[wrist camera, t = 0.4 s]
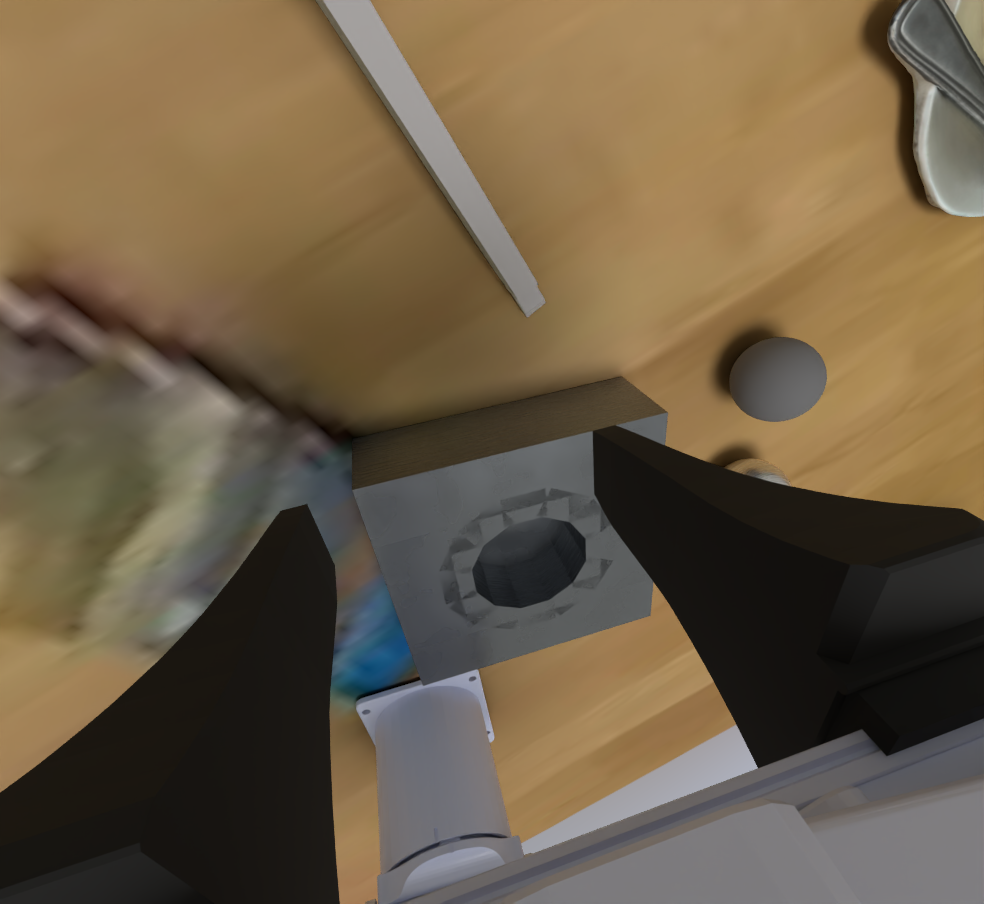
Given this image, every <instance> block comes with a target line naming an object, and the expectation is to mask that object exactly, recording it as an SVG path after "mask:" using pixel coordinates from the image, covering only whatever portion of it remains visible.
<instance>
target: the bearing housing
mask: <svg viewBox="0 0 984 904" xmlns="http://www.w3.org/2000/svg"><path fill="white" fill-rule="evenodd" d="M667 416H668V412H667V411H665V410H664V409H663V408H661V407H660V406H659V405H658V404H656V403H655V402H654V401H653V400H651V399H650V398H649V397H647V396H646V395H645V394H644V393H642V392H641V391H640V390H639V389H637V388H636V387H635V386H633V385H632V384H631V383H630V382H628V381H627V380H626V379H625V378H623V377H618V378H614V379H610V380H605V381H601V382H597V383H592V384H588V385H584V386H579V387H575V388H571V389H566V390H562V391H558V392H553V393H549V394H545V395H540V396H536V397H532V398H528V399H523V400H519V401H515V402H510V403H506V404H502V405H497V406H493V407H489V408H484V409H480V410H476V411H471V412H467V413H463V414H458V415H454V416H450V417H445V418H441V419H437V420H432V421H428V422H424V423H419V424H415V425H411V426H406V427H402V428H398V429H393V430H389V431H385V432H380V433H376V434H372V435H367V436H363V437H359V438H354V439H352V491H353V494H354V497H355V499H356V502H357V505H358V508H359V510H360V513H361V516H362V519H363V522H364V524H365V527H366V530H367V533H368V535H369V538H370V541H371V544H372V546H373V549H374V552H375V555H376V558H377V560H378V563H379V566H380V569H381V571H382V574H383V577H384V580H385V582H386V585H387V588H388V591H389V593H390V596H391V599H392V602H393V605H394V607H395V610H396V613H397V616H398V618H399V621H400V624H401V627H402V629H403V632H404V635H405V638H406V641H407V643H408V646H409V649H410V652H411V654H412V657H413V660H414V663H415V665H416V668H417V671H418V674H419V677H420V679H421V682H422V685H423V686H425V685H428V684H431V683H435V682H438V681H441V680H444V679H447V678H451V677H454V676H457V675H460V674H464V673H467V672H470V671H473V670H476V669H480V668H483V667H486V666H489V665H493V664H496V663H499V662H502V661H505V660H509V659H512V658H515V657H518V656H522V655H525V654H528V653H531V652H535V651H538V650H541V649H544V648H547V647H551V646H554V645H557V644H560V643H564V642H567V641H570V640H573V639H576V638H580V637H583V636H586V635H589V634H593V633H596V632H599V631H602V630H605V629H609V628H612V627H615V626H618V625H622V624H625V623H628V622H631V621H634V620H638V619H641V618H644V617H647V616H650V614H651V602H652V591H653V581H652V579H651V578H650V577H649V575H648V574H647V573H646V571H645V570H644V569H643V567H642V566H641V565H640V563H639V562H638V561H637V559H636V558H635V557H634V555H633V554H632V553H631V551H630V550H629V549H628V547H627V546H626V545H625V543H624V542H623V540H622V539H621V538H620V536H619V535H618V534H617V532H616V531H615V530H614V528H613V527H612V525H611V524H610V522H609V520H608V519H607V517H606V515H605V513H604V512H603V510H602V508H601V506H600V504H599V502H598V500H597V498H596V496H595V495H594V468H593V431H594V430H598V429H602V428H606V427H609V426H613V425H616V426H619V427H622V428H624V429H627V430H629V431H632V432H634V433H637V434H639V435H641V436H644V437H646V438H649V439H651V440H653V441H656V442H658V443H660V444H663V445H665V439H666V428H667Z"/></svg>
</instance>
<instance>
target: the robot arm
mask: <svg viewBox="0 0 984 904" xmlns="http://www.w3.org/2000/svg"><path fill="white" fill-rule="evenodd" d="M593 468H594V495H595V496H596V498H597V500H598V502H599V504H600V506H601V508H602V510H603V512H604V513H605V515H606V517H607V519H608V520H609V522H610V524H611V525H612V527H613V528H614V530H615V531H616V532H617V534H618V535H619V536H620V538H621V539H622V540H623V542H624V543H625V545H626V546H627V547H628V549H629V550H630V551H631V553H632V554H633V555H634V557H635V558H636V559H637V561H638V562H639V563H640V565H641V566H642V567H643V569H644V570H645V571H646V573H647V574H648V575H649V577H650V578H651V579H652V581H653V582H654V583H655V585H656V586H657V587H658V588H659V590H660V591H661V593H662V594H663V596H664V597H665V599H666V600H667V602H668V603H669V604H670V606H671V608H672V609H673V611H674V613H675V614H676V616H677V618H678V619H679V621H680V623H681V625H682V626H683V628H684V630H685V631H686V633H687V635H688V636H689V638H690V640H691V641H692V643H693V645H694V647H695V649H696V650H697V652H698V654H699V656H700V657H701V659H702V661H703V663H704V664H705V666H706V668H707V670H708V672H709V673H710V675H711V677H712V679H713V681H714V683H715V685H716V686H717V688H718V690H719V692H720V694H721V696H722V698H723V700H724V701H725V703H726V705H727V707H728V709H729V711H730V713H731V715H732V717H733V718H734V720H735V722H736V724H737V726H738V728H739V730H740V732H741V734H742V737H743V738H744V740H745V742H746V744H747V747H748V749H749V751H750V753H751V755H752V757H753V759H754V761H755V763H756V765H757V767H758V769H755V770H753V771H750V772H748V773H745V774H742V775H740V776H737V777H734V778H732V779H729V780H726V781H724V782H721V783H718V784H716V785H713V786H710V787H708V788H705V789H703V790H700V791H697V792H695V793H692V794H689V795H687V796H684V797H681V798H679V799H676V800H673V801H671V802H668V803H665V804H663V805H660V806H658V807H655V808H653V809H650V810H647V811H644V812H642V813H639V814H636V815H634V816H631V817H628V818H626V819H623V820H621V821H618V822H615V823H613V824H610V825H607V826H605V827H602V828H599V829H597V830H594V831H592V832H589V833H586V834H584V835H581V836H578V837H576V838H573V839H570V840H568V841H565V842H562V843H560V844H557V845H554V846H552V847H549V848H547V849H544V850H541V851H539V852H536V853H529V854H526V855H524V854H523V850H522V846H521V842H520V838H519V836H513V837H512V835H511V831H510V827H509V823H508V818H507V814H506V810H505V806H504V801H503V797H502V793H501V789H500V785H499V780H498V776H497V772H496V768H495V763H494V759H493V755H492V751H491V746H490V742H492V741H493V740H494V733H493V729H492V725H491V721H490V717H489V712H488V708H487V704H486V700H485V696H484V692H483V688H482V683H481V679H480V675H479V671H478V669H476V670H473V671H470V672H467V673H464V674H460V675H457V676H454V677H451V678H447V679H444V680H441V681H438V682H435V683H431V684H428V685H425V686H423V685H422V682H421V680H419V681H416V682H413V683H409V684H406V685H403V686H400V687H396V688H393V689H390V690H387V691H383V692H380V693H377V694H374V695H370V696H367V697H364V698H361V699H359V700H358V701H357V702H356V710H357V712H358V714H359V716H360V718H361V720H362V721H363V723H364V725H365V727H366V729H367V731H368V733H369V735H370V737H371V739H372V741H373V743H374V745H375V746H376V765H377V791H378V816H379V842H380V867H381V874H380V875H378V877H377V885H378V904H984V521H983V520H981V519H980V518H978V517H976V516H974V515H973V514H971V513H969V512H967V511H965V510H963V509H957V508H945V507H933V506H921V505H909V504H897V503H888V502H880V501H873V500H865V499H858V498H851V497H844V496H838V495H832V494H826V493H821V492H816V491H811V490H806V489H801V488H796V487H791V486H787V485H783V484H779V483H774V482H771V481H767V480H763V479H760V478H756V477H752V476H749V475H745V474H742V473H738V472H735V471H732V470H729V469H726V468H723V467H720V466H717V465H714V464H711V463H709V462H706V461H703V460H700V459H698V458H695V457H692V456H690V455H687V454H685V453H682V452H680V451H677V450H675V449H672V448H670V447H667V446H665V445H663V444H660V443H658V442H656V441H653V440H651V439H649V438H646V437H644V436H641V435H639V434H637V433H634V432H632V431H629V430H627V429H624V428H622V427H619V426H616V425H613V426H609V427H606V428H602V429H598V430H594V431H593ZM336 611H337V592H336V576H335V565H334V563H333V561H332V558H331V556H330V554H329V552H328V549H327V547H326V545H325V543H324V541H323V538H322V536H321V534H320V532H319V529H318V527H317V525H316V523H315V521H314V518H313V516H312V514H311V512H310V510H309V507H308V505H307V504H306V505H302V506H298V507H294V508H290V509H286V510H282V511H280V513H279V514H278V515H277V516H276V518H275V519H274V520H273V522H272V523H271V525H270V526H269V527H268V529H267V530H266V532H265V533H264V535H263V536H262V537H261V539H260V540H259V542H258V543H257V544H256V546H255V547H254V549H253V550H252V551H251V553H250V554H249V555H248V557H247V558H246V560H245V561H244V562H243V564H242V565H241V566H240V568H239V569H238V570H237V572H236V573H235V574H234V576H233V577H232V578H231V579H230V581H229V582H228V583H227V584H226V586H225V587H224V588H223V589H222V591H221V592H220V593H219V594H218V596H217V597H216V598H215V599H214V600H213V602H212V603H211V604H210V605H209V607H208V608H207V609H206V610H205V612H204V613H203V614H202V615H201V616H200V617H199V618H198V620H197V621H196V622H195V623H194V624H193V625H192V626H191V627H190V628H189V630H188V631H187V632H186V633H185V634H184V635H183V636H182V637H181V638H180V639H179V640H178V641H177V642H176V643H175V644H174V645H173V646H172V647H171V648H170V650H169V651H168V652H167V653H166V654H165V655H164V656H163V657H162V658H161V659H160V660H159V661H158V662H157V663H155V664H154V665H153V666H152V667H151V668H150V669H149V670H148V671H147V672H146V673H145V674H144V675H143V676H142V677H140V678H139V679H138V680H137V681H136V682H135V683H134V684H133V685H132V686H131V687H130V688H129V689H128V690H127V691H125V692H124V693H123V694H122V695H121V696H120V697H119V698H118V699H117V700H116V701H115V702H114V703H112V704H111V705H110V706H109V707H108V708H107V709H105V710H104V711H103V712H102V713H101V714H100V715H98V716H97V717H96V718H95V719H94V720H93V721H91V722H90V723H89V724H88V725H87V726H86V727H84V728H83V729H82V730H81V731H79V732H78V733H77V734H76V735H75V736H73V737H72V738H71V739H70V740H68V741H67V742H66V743H65V744H63V745H62V746H61V747H60V748H59V749H57V750H56V751H55V752H54V753H52V754H51V755H50V756H48V757H47V758H46V759H45V760H43V761H42V762H41V763H40V764H38V765H37V766H36V767H34V768H33V769H32V770H30V771H29V772H28V773H26V774H25V775H24V776H22V777H21V778H20V779H18V780H17V781H16V782H14V783H13V784H12V785H10V786H9V787H8V788H6V789H5V790H3V791H2V792H1V793H0V904H340V902H339V890H338V878H337V866H336V852H335V836H334V820H333V805H332V782H331V759H330V720H329V708H330V687H331V675H332V662H333V650H334V638H335V625H336ZM365 904H377V901H376V899H373V900H370V901H367V902H365Z"/></svg>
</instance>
